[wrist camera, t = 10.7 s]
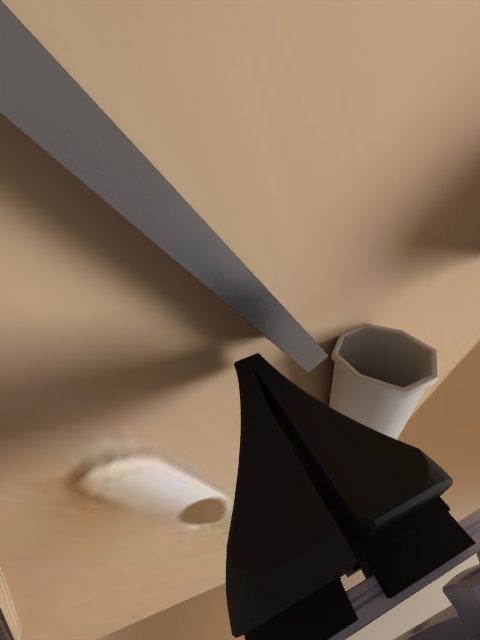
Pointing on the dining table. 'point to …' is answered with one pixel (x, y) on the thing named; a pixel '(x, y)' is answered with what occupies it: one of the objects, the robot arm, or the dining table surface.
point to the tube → (381, 376)
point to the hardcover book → (8, 614)
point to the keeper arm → (132, 183)
